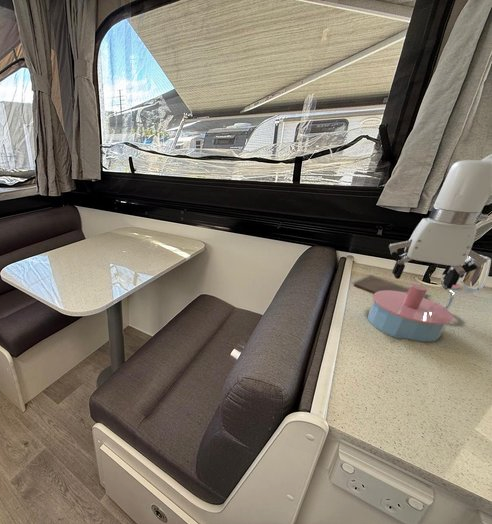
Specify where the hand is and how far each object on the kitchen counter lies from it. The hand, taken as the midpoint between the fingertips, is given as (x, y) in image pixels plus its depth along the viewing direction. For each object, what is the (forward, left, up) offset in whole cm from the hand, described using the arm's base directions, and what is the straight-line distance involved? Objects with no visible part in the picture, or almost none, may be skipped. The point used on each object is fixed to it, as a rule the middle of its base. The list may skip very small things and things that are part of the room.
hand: (420, 281), depth 69 cm
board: (+11, -20, -14) cm, 27 cm away
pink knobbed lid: (0, 0, -8) cm, 8 cm away
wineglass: (-4, -14, -15) cm, 21 cm away
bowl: (0, 0, -14) cm, 14 cm away
